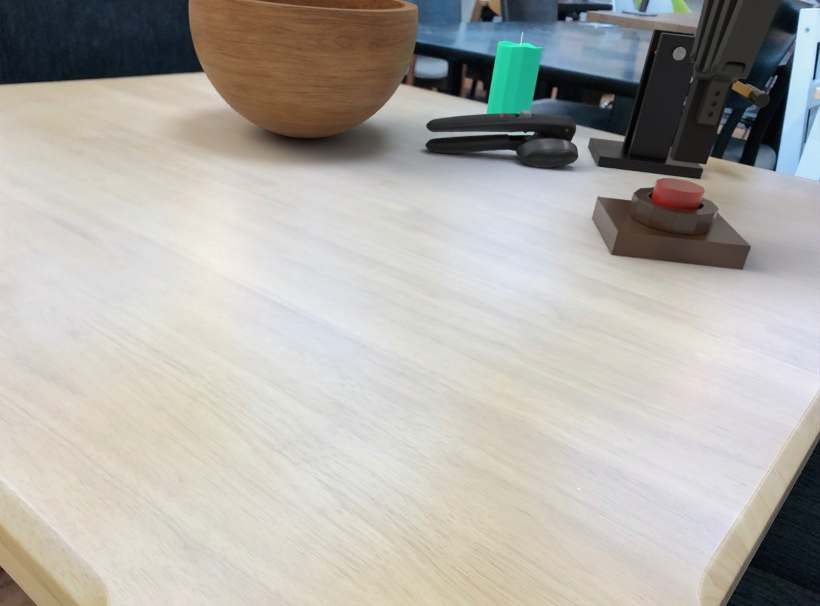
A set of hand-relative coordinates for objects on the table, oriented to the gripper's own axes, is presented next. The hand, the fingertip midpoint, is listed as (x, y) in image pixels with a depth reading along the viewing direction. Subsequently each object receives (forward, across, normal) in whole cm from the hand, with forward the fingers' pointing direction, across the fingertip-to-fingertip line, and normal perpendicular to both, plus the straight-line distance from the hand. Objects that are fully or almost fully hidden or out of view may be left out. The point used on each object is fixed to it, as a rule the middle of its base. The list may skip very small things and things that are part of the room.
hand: (687, 159), depth 60 cm
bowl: (+8, -21, -38) cm, 44 cm away
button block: (+8, 0, 0) cm, 8 cm away
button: (+4, 0, 0) cm, 4 cm away
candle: (+8, -39, -13) cm, 42 cm away
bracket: (+8, -28, +4) cm, 29 cm away
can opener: (+8, -22, -14) cm, 27 cm away
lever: (-3, -28, +8) cm, 29 cm away
